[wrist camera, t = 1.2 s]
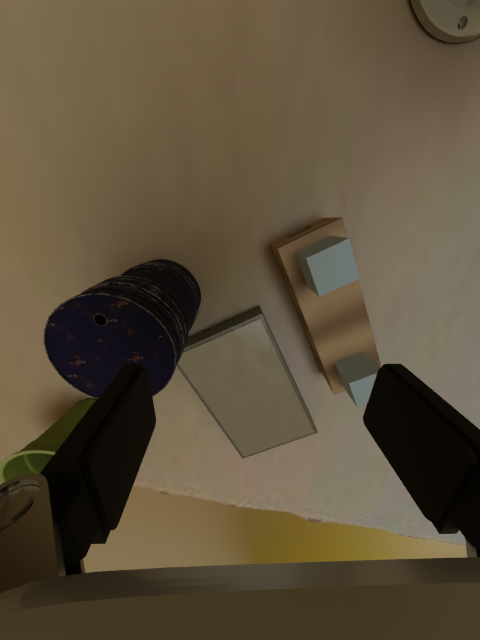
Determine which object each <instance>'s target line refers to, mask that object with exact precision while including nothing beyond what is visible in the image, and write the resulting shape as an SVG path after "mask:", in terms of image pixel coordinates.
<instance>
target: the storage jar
mask: <svg viewBox="0 0 480 640" xmlns="http://www.w3.org/2000/svg"><path fill="white" fill-rule="evenodd" d="M200 302H201V293H200V288H199V285H198V283H197V281H196V279H195V278H194V276H193V275H192V274H191V273H190V272H189V271H188V270H187V269H186V268H185V267H183V266H182V265H180V264H178V263H176V262H173V261H169V260H152V261H149V262H146V263H143V264H140V265H137V266H135V267H132V268H130V269H129V270H127V271H125V272H124V273H123V274H122V275H121V276H119V277H113V278H110V279H107V280H105V281H103V282H101V283H99V284H97V285H94V286H92V287H90V288H89V289H87V290H85V291H83V292H82V293H81V294H80V295H77V296H75V297H73V298H71V299H69V300H67V301H65V302H63V303H62V304H60V305H59V306H58V307H57V308H56V309H55V310H54V311H53V312H52V314H51V315H50V316H49V318H48V320H47V322H46V325H45V330H44V345H45V350H46V353H47V355H48V358H49V360H50V362H51V364H52V365H53V367H54V368H55V370H56V371H57V372H58V373H59V375H60V376H61V377H62V378H63V379H64V380H65V381H66V382H68V383H69V384H70V385H72V386H73V387H74V388H76V389H77V390H79V391H81V392H82V393H84V394H87V395H89V396H91V397H94V398H97V399H99V398H100V396H101V395H102V394H103V392H104V391H105V390H106V388H107V387H108V386H109V384H110V383H111V382H112V380H113V379H114V378H115V376H116V375H117V374H118V373H119V371H120V370H121V369H122V367H123V366H124V365H125V364H142V365H143V367H146V368H147V369H148V374H149V380H150V386H151V392H152V396H154V395H156V394H157V393H159V392H160V391H161V390H162V389H163V388H164V387H165V386H166V385H167V384H168V383H169V381H170V380H171V378H172V376H173V373H174V371H175V368H176V365H177V364H178V362H179V360H180V358H181V356H182V353H183V351H184V348H185V346H186V343H187V339H188V332H189V330H190V329H191V327H192V325H193V323H194V321H195V319H196V317H197V314H198V310H199V306H200Z"/></svg>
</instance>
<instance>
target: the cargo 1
mask: <svg viewBox="0 0 480 640" xmlns="http://www.w3.org/2000/svg"><path fill="white" fill-rule="evenodd" d="M295 254H296V257H297V260H298V263H299V265H300V268H301V271H302V274H303V276H304V279H305V282H306V285H307V286H308V287H309V288H310V289H311V290H312V291H313V292H315V293H316V294H317V295H318V296H319V297H320V296H322V295H324V294H327V293H329V292H331V291H333V290H336V289H338V288H340V287H343V286H345V285H347V284H349V283H352V282H354V281H356V280H358V279H360V277H359V273H358V269H357V266H356V262H355V258H354V254H353V250H352V246H351V243H350V239H349V238H345V237H338V236H329V237H327V238H325V239H323V240H321V241H319V242H317V243H315V244H313V245H310V246H308V247H306V248H304V249H302V250H300V251H298V252H296V253H295Z"/></svg>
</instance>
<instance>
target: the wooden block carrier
mask: <svg viewBox="0 0 480 640" xmlns="http://www.w3.org/2000/svg"><path fill="white" fill-rule="evenodd" d="M329 236H338V237H345V238H347V234H346V231H345V227H344V223H343V219H342V217H340V218H322V219H320V220H318V221H316V222H314V223H312V224H310V225H308V229H306V230H304V231H302V232H300V233H298V234H296V235H294V236H292V237H290V238H287V237H284V238H281V239H279V240H277V241H275V242H273V243H271V244H270V245H271V248H272V250H273V253H274V255H275V258H276V260H277V263H278V265H279V268H280V270H281V273H282V275H283V278H284V280H285V283H286V285H287V288H288V290H289V293H290V295H291V298H292V300H293V303H294V305H295V308H296V310H297V313H298V315H299V318H300V320H301V323H302V325H303V328H304V330H305V333H306V335H307V338H308V340H309V343H310V345H311V348H312V350H313V353H314V355H315V358H316V360H317V363H318V365H319V368H320V370H321V373H322V374H323V376H324V378H325V380H326V381H327V383H328V385H329V386H330V388H331V390H332V391H333V393H334V395H335V394H338V393H341V392H343V391H346V390H345V388H344V387H343V385H342V382H341V380H340V377H339V374H338V371H337V369H336V366H335V363H337V362H340V361H343V360H345V359H348V358H350V357H353V356H355V355H358V354H361V353H363V352H365V353H366V354H367V355H368V356H369V357H370V358H371V359H372V360H373V361H374V362H375V363H376V364H377V365H378V366H379V367H380V368H381V364H380V361H379V357H378V353H377V349H376V345H375V342H374V338H373V334H372V330H371V326H370V322H369V319H368V315H367V311H366V307H365V303H364V299H363V296H362V292H361V288H360V284H359V280H356V281H354V282H352V283H349V284H347V285H345V286H343V287H340V288H338V289H336V290H333V291H331V292H329V293H327V294H324V295H322V296H320V297H319V296H318V295H317V294H316V293H315V292H313V291H312V290H311V289H310V288H309V287H308V286H307V285H306V282H305V279H304V276H303V274H302V271H301V268H300V265H299V263H298V260H297V257H296V254H295V253H296V252H298V251H300V250H302V249H304V248H306V247H308V246H310V245H313V244H315V243H317V242H319V241H321V240H323V239H325V238H327V237H329Z"/></svg>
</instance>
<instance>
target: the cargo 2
mask: <svg viewBox="0 0 480 640" xmlns="http://www.w3.org/2000/svg"><path fill="white" fill-rule="evenodd" d="M335 366H336V369H337V371H338V374H339V377H340V380H341V382H342V385H343V387H344V388H345V390H346V391H347V393H348V394H349V396H350V397H351V399H352V400H353V402H354V403H355V404H356V406H357V407H358V406H361V405H364V404H367V403H368V400H369V397H370V394H371V391H372V388H373V385H374V381H375V378H376V375H377V372H378V370H379V368H380V367H379V366H378V365H377V364H376V363H375V362H374V361H373V360H372V359H371V358H370V357H369V356H368V355H367V354H366V353H365V352H363V353H361V354H358V355H355V356H353V357H350V358H348V359H345V360H343V361H340V362H337V363H335Z"/></svg>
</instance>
